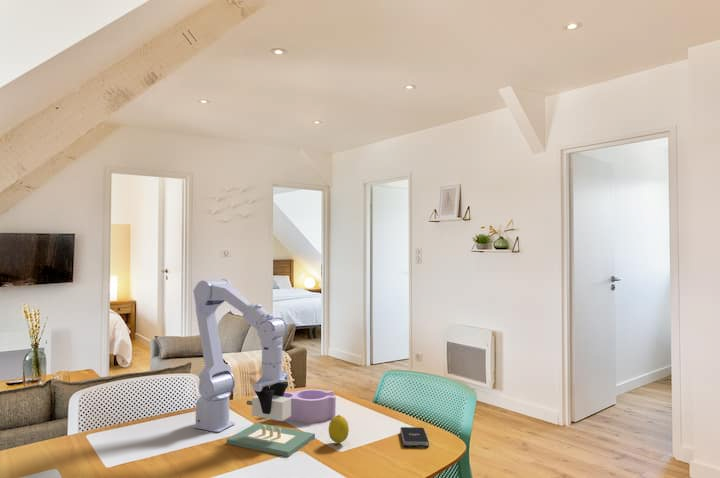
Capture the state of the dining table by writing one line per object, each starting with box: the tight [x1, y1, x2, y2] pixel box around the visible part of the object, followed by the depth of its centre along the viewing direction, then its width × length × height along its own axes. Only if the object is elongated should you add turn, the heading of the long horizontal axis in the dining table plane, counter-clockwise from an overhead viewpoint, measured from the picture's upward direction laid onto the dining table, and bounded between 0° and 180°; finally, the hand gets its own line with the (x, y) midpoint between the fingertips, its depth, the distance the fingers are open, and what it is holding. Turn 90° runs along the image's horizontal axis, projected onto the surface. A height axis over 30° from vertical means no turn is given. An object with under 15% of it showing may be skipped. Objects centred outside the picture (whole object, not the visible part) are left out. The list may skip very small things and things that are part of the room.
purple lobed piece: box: [271, 388, 337, 423], centre depth 158 cm, size 20×12×7 cm, turn 99°
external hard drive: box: [399, 426, 430, 449], centre depth 140 cm, size 7×11×2 cm, turn 0°
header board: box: [226, 422, 316, 458], centre depth 138 cm, size 20×14×4 cm
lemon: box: [328, 414, 350, 445], centre depth 136 cm, size 6×6×8 cm
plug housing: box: [246, 395, 291, 422], centre depth 138 cm, size 13×4×5 cm, turn 66°
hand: (271, 410), depth 138 cm, fingers closed on plug housing, 4 cm apart
